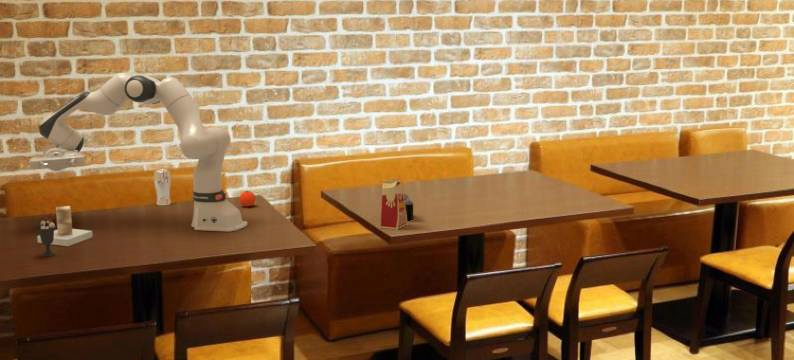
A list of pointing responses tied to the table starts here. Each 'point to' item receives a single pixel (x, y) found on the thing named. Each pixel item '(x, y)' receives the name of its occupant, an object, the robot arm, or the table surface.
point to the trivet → (69, 237)
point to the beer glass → (162, 186)
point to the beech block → (64, 220)
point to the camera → (408, 207)
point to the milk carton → (393, 205)
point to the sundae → (47, 234)
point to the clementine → (247, 198)
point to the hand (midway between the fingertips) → (58, 164)
